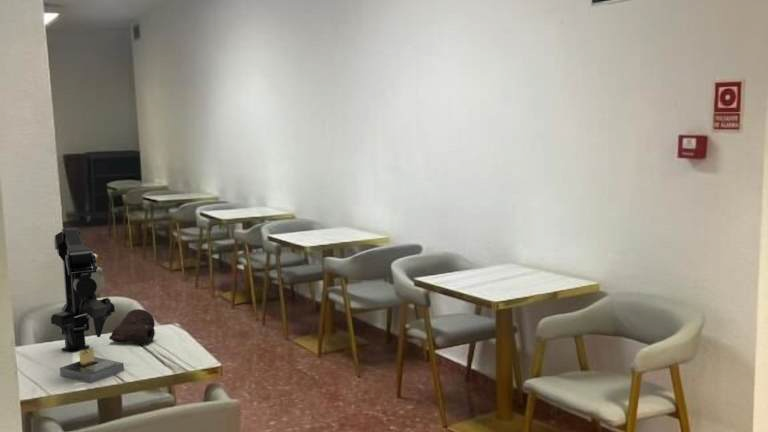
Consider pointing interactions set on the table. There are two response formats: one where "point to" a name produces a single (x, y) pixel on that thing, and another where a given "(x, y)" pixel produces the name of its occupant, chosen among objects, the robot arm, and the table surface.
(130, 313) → the dark brown rounded lump
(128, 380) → the table surface
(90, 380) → the metal square frame
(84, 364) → the tan rectangular block
